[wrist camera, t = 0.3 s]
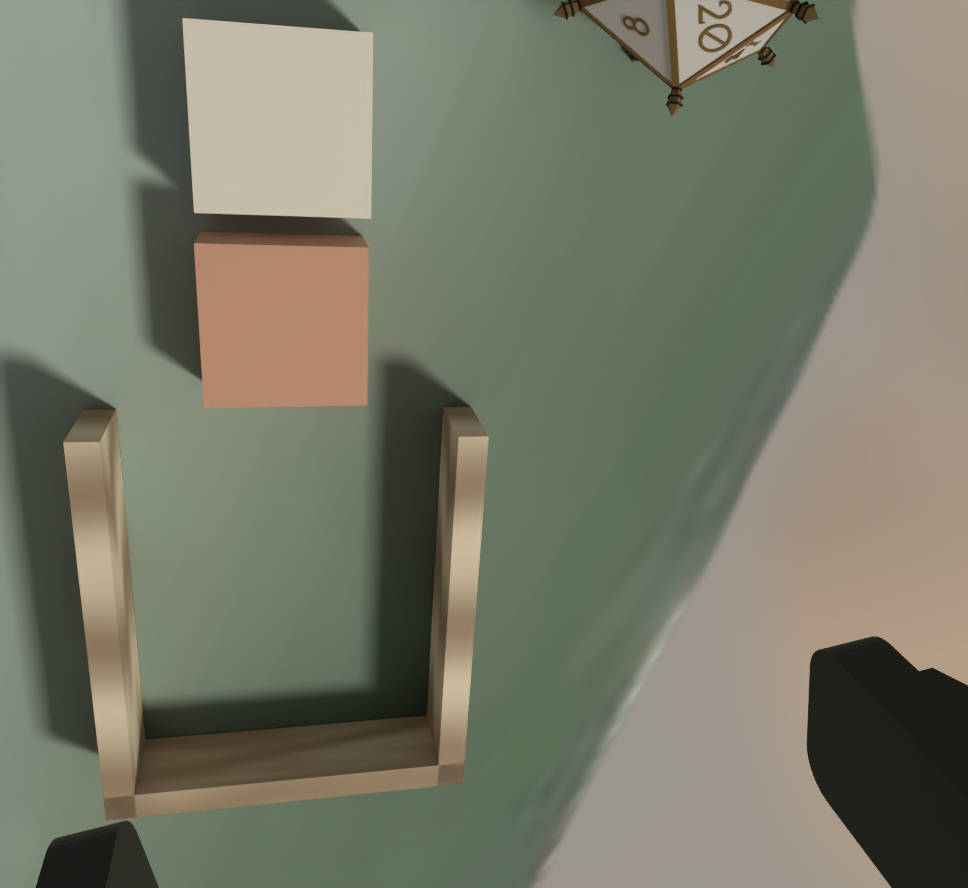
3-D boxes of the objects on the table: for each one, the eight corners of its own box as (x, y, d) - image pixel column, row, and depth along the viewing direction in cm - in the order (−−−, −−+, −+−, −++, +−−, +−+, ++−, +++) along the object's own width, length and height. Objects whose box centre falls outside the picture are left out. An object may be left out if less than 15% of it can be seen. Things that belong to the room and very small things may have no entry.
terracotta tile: (200, 230, 33) (193, 243, 30) (361, 234, 34) (368, 247, 32) (209, 382, 35) (203, 407, 32) (360, 381, 36) (367, 405, 34)
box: (83, 409, 34) (63, 442, 31) (470, 407, 38) (488, 436, 34) (119, 762, 40) (106, 820, 37) (449, 733, 44) (462, 783, 41)
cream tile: (191, 24, 30) (182, 17, 28) (365, 37, 32) (373, 32, 29) (201, 202, 33) (193, 212, 30) (363, 208, 34) (371, 218, 31)
